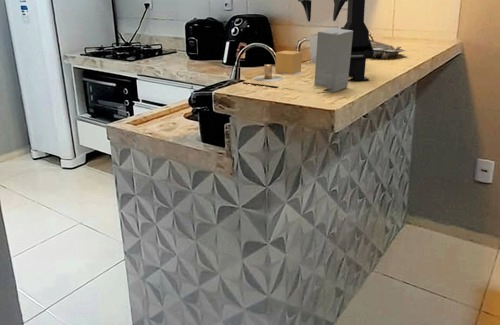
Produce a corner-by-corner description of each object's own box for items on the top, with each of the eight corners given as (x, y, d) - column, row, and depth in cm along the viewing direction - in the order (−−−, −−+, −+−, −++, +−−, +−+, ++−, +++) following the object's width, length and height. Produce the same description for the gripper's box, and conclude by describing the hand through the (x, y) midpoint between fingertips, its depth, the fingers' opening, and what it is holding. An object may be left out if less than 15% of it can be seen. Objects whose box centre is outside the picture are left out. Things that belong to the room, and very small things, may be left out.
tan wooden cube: (300, 71, 152) (301, 52, 150) (292, 74, 147) (292, 54, 145) (284, 69, 155) (284, 50, 153) (275, 72, 150) (275, 52, 148)
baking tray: (414, 56, 194) (416, 42, 192) (394, 62, 178) (396, 47, 176) (345, 49, 211) (346, 36, 209) (321, 55, 194) (322, 41, 192)
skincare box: (328, 84, 140) (331, 27, 134) (350, 88, 135) (355, 29, 130) (312, 89, 133) (314, 30, 128) (335, 93, 129) (339, 31, 124)
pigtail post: (273, 78, 142) (273, 64, 141) (269, 79, 140) (269, 65, 139) (266, 77, 143) (266, 64, 142) (262, 79, 141) (262, 65, 140)
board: (311, 75, 153) (311, 71, 152) (276, 88, 135) (276, 83, 135) (280, 72, 158) (280, 68, 158) (242, 83, 141) (242, 79, 140)
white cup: (330, 66, 168) (332, 36, 165) (307, 65, 170) (309, 36, 166) (331, 62, 175) (333, 34, 172) (309, 62, 177) (311, 33, 173)
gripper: (340, -28, 171) (337, 18, 177) (289, -28, 167) (288, 19, 173) (354, -28, 161) (350, 21, 167) (300, -28, 157) (298, 22, 163)
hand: (321, 21), depth 167 cm, fingers open, 9 cm apart
